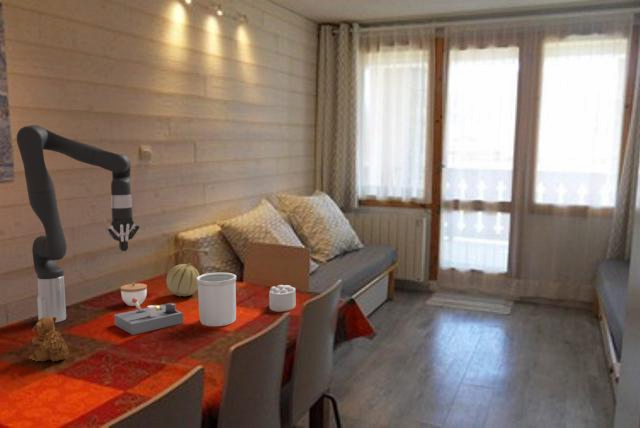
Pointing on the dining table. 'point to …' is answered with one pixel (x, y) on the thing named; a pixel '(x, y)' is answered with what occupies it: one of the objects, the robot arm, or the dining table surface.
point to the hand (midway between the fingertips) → (123, 250)
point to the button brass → (157, 307)
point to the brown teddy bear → (48, 341)
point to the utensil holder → (217, 298)
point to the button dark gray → (170, 307)
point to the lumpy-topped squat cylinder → (282, 298)
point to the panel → (147, 320)
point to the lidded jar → (133, 293)
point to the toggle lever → (136, 304)
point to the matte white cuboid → (151, 311)
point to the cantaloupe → (182, 280)
